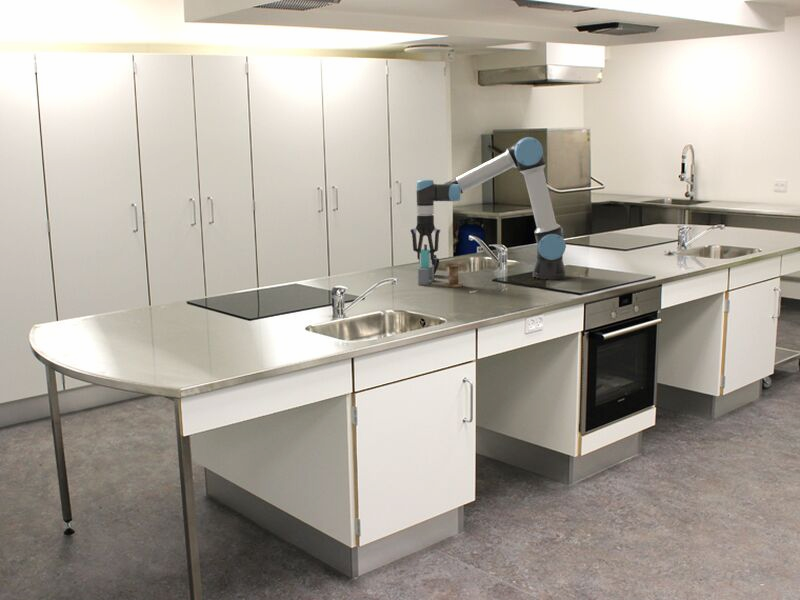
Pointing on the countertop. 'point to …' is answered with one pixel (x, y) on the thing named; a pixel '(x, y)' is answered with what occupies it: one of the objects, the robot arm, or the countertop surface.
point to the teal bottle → (425, 257)
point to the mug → (434, 263)
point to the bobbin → (453, 274)
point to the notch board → (425, 275)
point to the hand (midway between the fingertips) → (425, 266)
